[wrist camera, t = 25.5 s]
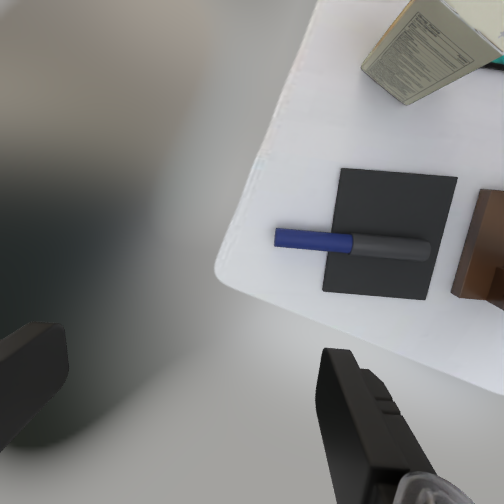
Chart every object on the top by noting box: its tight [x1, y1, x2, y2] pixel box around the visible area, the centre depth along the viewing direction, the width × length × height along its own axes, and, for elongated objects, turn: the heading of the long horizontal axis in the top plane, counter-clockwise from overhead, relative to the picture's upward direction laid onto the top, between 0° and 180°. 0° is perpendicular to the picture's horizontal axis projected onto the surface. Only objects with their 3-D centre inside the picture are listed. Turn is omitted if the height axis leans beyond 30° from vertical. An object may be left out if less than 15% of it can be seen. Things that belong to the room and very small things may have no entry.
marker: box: [274, 228, 431, 262], centre depth 30 cm, size 16×2×2 cm
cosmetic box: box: [361, 0, 504, 106], centre depth 21 cm, size 6×4×12 cm
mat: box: [322, 168, 458, 300], centre depth 31 cm, size 14×12×1 cm
